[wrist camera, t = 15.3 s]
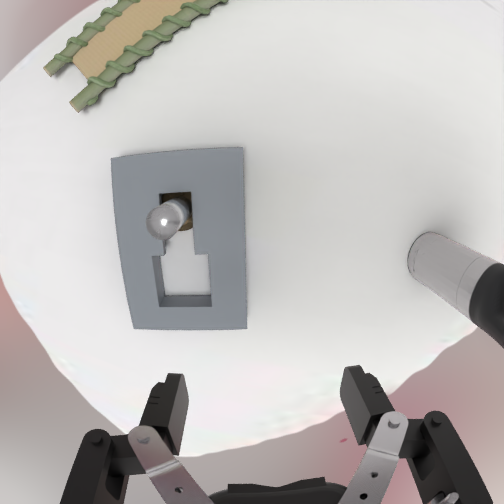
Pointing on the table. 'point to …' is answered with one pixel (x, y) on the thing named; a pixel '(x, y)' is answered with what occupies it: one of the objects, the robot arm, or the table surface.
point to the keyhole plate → (205, 236)
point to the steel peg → (170, 215)
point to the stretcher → (123, 40)
